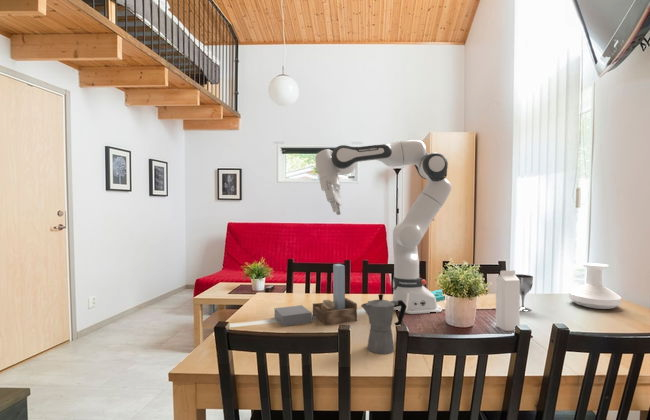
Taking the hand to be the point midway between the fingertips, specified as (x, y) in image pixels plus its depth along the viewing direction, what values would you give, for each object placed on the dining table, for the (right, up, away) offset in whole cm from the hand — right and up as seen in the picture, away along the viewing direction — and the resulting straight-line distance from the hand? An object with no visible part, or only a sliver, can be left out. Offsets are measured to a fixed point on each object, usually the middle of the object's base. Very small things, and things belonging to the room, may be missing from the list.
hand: (337, 213), depth 169 cm
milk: (+64, -44, -26) cm, 82 cm away
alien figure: (+57, -44, +21) cm, 75 cm away
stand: (-19, -44, -16) cm, 50 cm away
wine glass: (+83, -43, 0) cm, 94 cm away
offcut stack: (-4, -44, -14) cm, 46 cm away
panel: (0, -43, -12) cm, 45 cm away
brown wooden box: (-2, -43, -13) cm, 45 cm away
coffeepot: (+14, -44, -46) cm, 65 cm away
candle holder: (+120, -43, +5) cm, 127 cm away
